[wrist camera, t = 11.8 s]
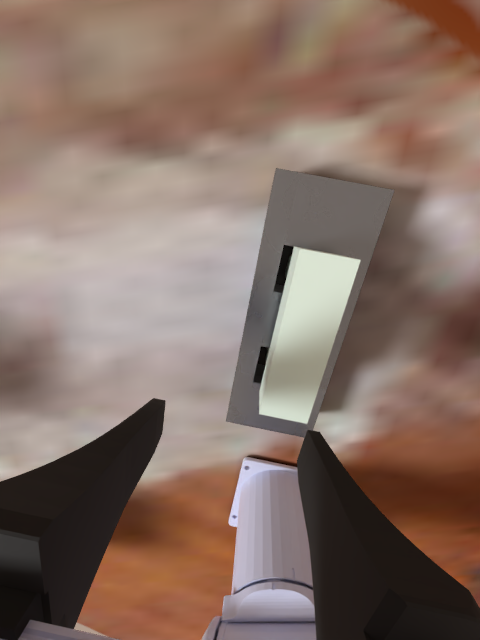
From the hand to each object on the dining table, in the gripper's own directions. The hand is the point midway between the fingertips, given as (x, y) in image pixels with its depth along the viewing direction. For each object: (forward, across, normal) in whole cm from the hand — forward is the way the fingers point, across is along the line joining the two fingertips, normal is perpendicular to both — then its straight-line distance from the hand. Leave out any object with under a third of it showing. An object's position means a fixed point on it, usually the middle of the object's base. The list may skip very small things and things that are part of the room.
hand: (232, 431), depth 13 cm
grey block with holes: (+9, -3, -4) cm, 11 cm away
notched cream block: (+9, -3, -4) cm, 11 cm away
